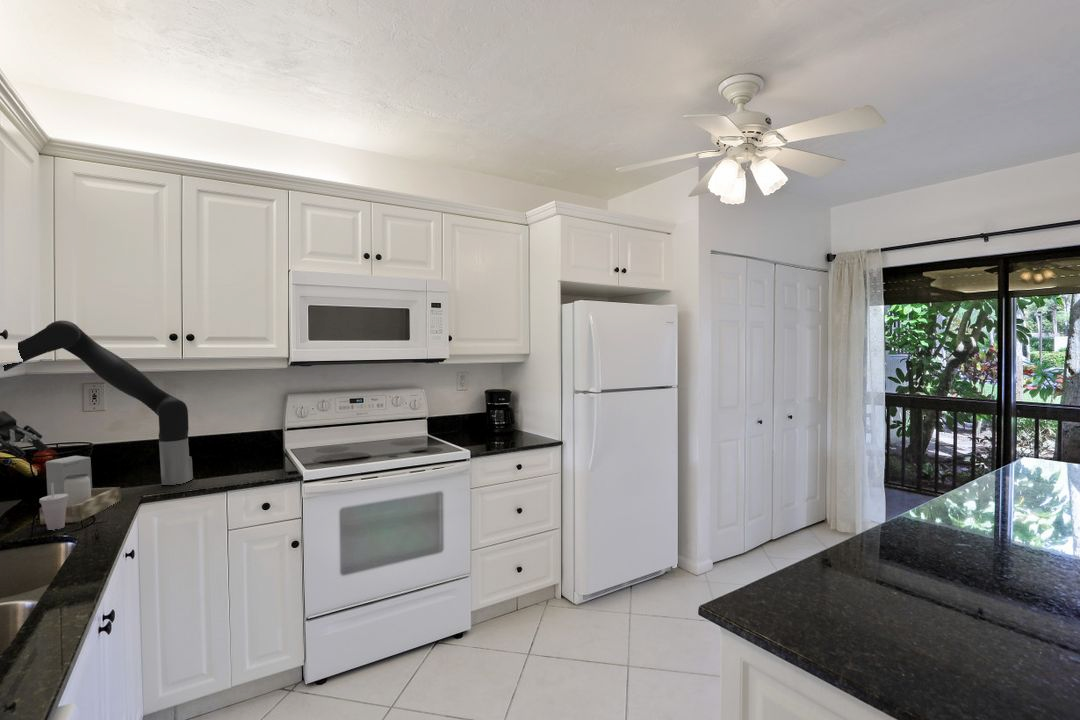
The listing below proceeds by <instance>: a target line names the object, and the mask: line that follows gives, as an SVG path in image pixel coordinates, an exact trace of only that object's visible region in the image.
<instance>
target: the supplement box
mask: <svg viewBox="0 0 1080 720" xmlns="http://www.w3.org/2000/svg"><path fill="white" fill-rule="evenodd" d="M91 462H92V459H91V457H90V456H82V455H72V456H71V455H70V456H67V457H62V458H57V459H51V460H46V461H45V469H46V471H45V472H46V475H45V476H46V490H47V496H50V495H52V493H51V483H53V486H54V495H55V494H64V481H65V478H66V477H68V476H72V475H78V474H88V477H89V478H90V486H91V488H93V482H92V481H93V478H92V463H91Z"/></svg>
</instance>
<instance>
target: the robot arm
mask: <svg viewBox="0 0 1080 720" xmlns="http://www.w3.org/2000/svg"><path fill="white" fill-rule="evenodd" d="M17 343H18V350H19V353H20V356H21V358H22V359H23V362H19V363H12V364H7V365H4V366H3V367H4V371H5V372H7V371H9V370H12V369H13V368H15V367H17V366H19V365H21V364H23V363H25V362H27V361H29V360H32V359H34V358H36V357H39V356H41V355H44V354H48V353H51V352H54V351H58V350H60V349H64V350H65V351H67V352H69V353H71V354H72V355H74V356H75V357H76V358H78V359H80V360H81V361H82V362H84V363H85V365H86V366H87V367H88V368H89V369H90V370H92V371H93V372H94V373H95V374H96V376H97V375H98V377H100V379H102V380H103V381H105V382H106V383H108V384H110V385H111V386H112V387H114V388H115V389H117V390H119V391H120V392H122V393H124V394H126V395H128V396H129V397H132V398H134V399H136V400H137V401H139V402H141V403H142V404H144V405H146V407H147V408H149V409H150V410H151V411H153V412H154V413H155V414H156V415H157V417H158V426H159V427H158V446H159V461H160V462H159V463H160V479H161V480H160V481H161V486H162V485H175V484H181V485H183V484H182V483H185V484H187V483H186V482H188V481H190V480H192V479H193V480H194V475H193V474H194V473H193V459H192V458H193V457H192V456H190V448H189V447H190V446H189V430H190V429H189V411H188V406H187V404H186V403H185V402H184V401H183V400H181V399H179V398H176V397H174V396H173V395H171V394H169V393H167V392H166V391H164V390H162V388H159V387H158V386H157V385H156V384H154V383H153V382H152V381H151V380H150V379H149V378H148V377H147V376H146V375H145V374H143V372H141V371H140V370H139V369H138V368H136V367H135V366H134V365H132V364H130V363H129V362H128V361H127V360H125V359H123V358H122V357H120V356H119V355H117V354H115V353H114V352H112V351H110V350H109V349H107V348H106V347H104V346H102V345H100V344H99V343H97V342H96V341H95V340H94V339H93V338H91V337H90V336H89V335H88V334H86V333H85V332H84V331H83V330H82V329H81V328H80V327H79V326H78V325H77V324H75V323H73V322H72V321H69V320H63V319H62V320H57V321H53V322H51V323H49V324H47V325H46V327H45V328H43V329H42V330H40V331H38V332H36V333H34V334H33V335H31V336H29V337H27V338H25V339H22V340H21V341H18V342H17ZM17 423H18V421H17V419H15V417H13V416H12V415H11V414H9V413H8V412H7V411H5V409H3V408H2V407H0V444H1V445H0V452H3V451H6V452H9V453H10V454H12V455H13V456H14V457H16V458H17V459H21V458H24V457H25V456H26V454H27V453H26V451H24V450H23V449H22V448H20V447H19V446H18V445H16V443H22V444H26V443H27V444H29V445H31V446H33V448H35V449H36V450H38V451H39V452H40V453H44V452H45V451H47V450H48V446H47V445H46V443H44V442H43V441H41V439H42V438H43V437H44V436H43V435H42V434H41V433H39V432H38V431H36V430H35V429H34V428H33V427H32V426H30V425H25V426H23V427H20V426H18V425H17ZM193 480H192V481H193ZM190 482H191V481H190ZM188 483H189V482H188ZM175 486H176V485H175Z"/></svg>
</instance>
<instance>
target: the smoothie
mask: <svg viewBox="0 0 1080 720" xmlns="http://www.w3.org/2000/svg"><path fill="white" fill-rule="evenodd" d="M51 493H52V495H50V496H48V495H46V496H43V497H41V498H39V499H38V500H39V502H38V503H39V504H41V508H42V509H43V513H44V517H45V521H46V524H45V525H46V528H47V531H48V530H53V531H56V530H55V529H58V530H61V528H62V529H63V528H65V526H66V525H65V524H66V523H65V516H66V505H67V499H68V498H69V497H68V494H55V495H54V486H53V483H51Z"/></svg>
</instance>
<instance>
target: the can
mask: <svg viewBox="0 0 1080 720" xmlns="http://www.w3.org/2000/svg"><path fill="white" fill-rule="evenodd" d="M64 494H68V497H69V498H68V499H67V505H77V504H79V503H81V502H83V501H86V500H88V499H90V498H91V486H90V478H89V477H88V474H78V475H72V476H68V477H66V478H65V481H64ZM67 505H66V506H67Z"/></svg>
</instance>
